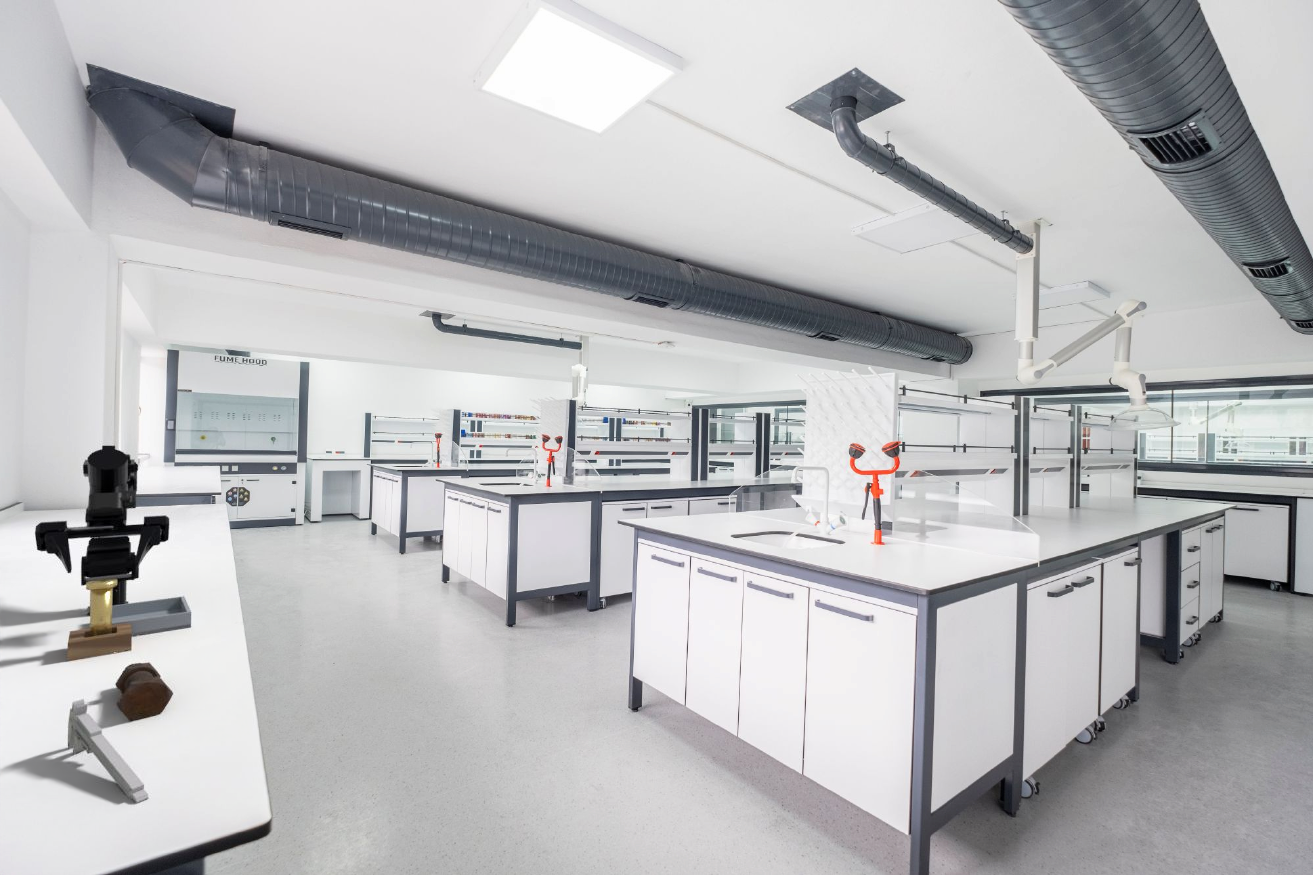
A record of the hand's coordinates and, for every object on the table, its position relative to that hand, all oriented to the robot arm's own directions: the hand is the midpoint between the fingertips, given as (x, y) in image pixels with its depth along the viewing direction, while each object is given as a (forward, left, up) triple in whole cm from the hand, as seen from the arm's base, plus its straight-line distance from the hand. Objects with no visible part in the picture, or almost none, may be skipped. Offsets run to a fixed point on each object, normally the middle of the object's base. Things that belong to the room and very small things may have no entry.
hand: (104, 568), depth 109 cm
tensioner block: (+7, 0, -13) cm, 15 cm away
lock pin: (+7, 0, -13) cm, 15 cm away
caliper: (+58, +1, -13) cm, 60 cm away
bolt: (+37, +4, -13) cm, 40 cm away
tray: (-5, +6, -13) cm, 15 cm away
